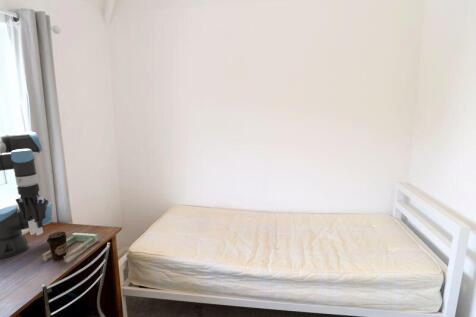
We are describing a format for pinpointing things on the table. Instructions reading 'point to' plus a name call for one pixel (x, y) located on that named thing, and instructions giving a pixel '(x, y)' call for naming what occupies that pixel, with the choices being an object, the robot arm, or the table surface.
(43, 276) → the table surface
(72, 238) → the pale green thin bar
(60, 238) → the coffee cup
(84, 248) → the rail outer
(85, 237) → the backstop
